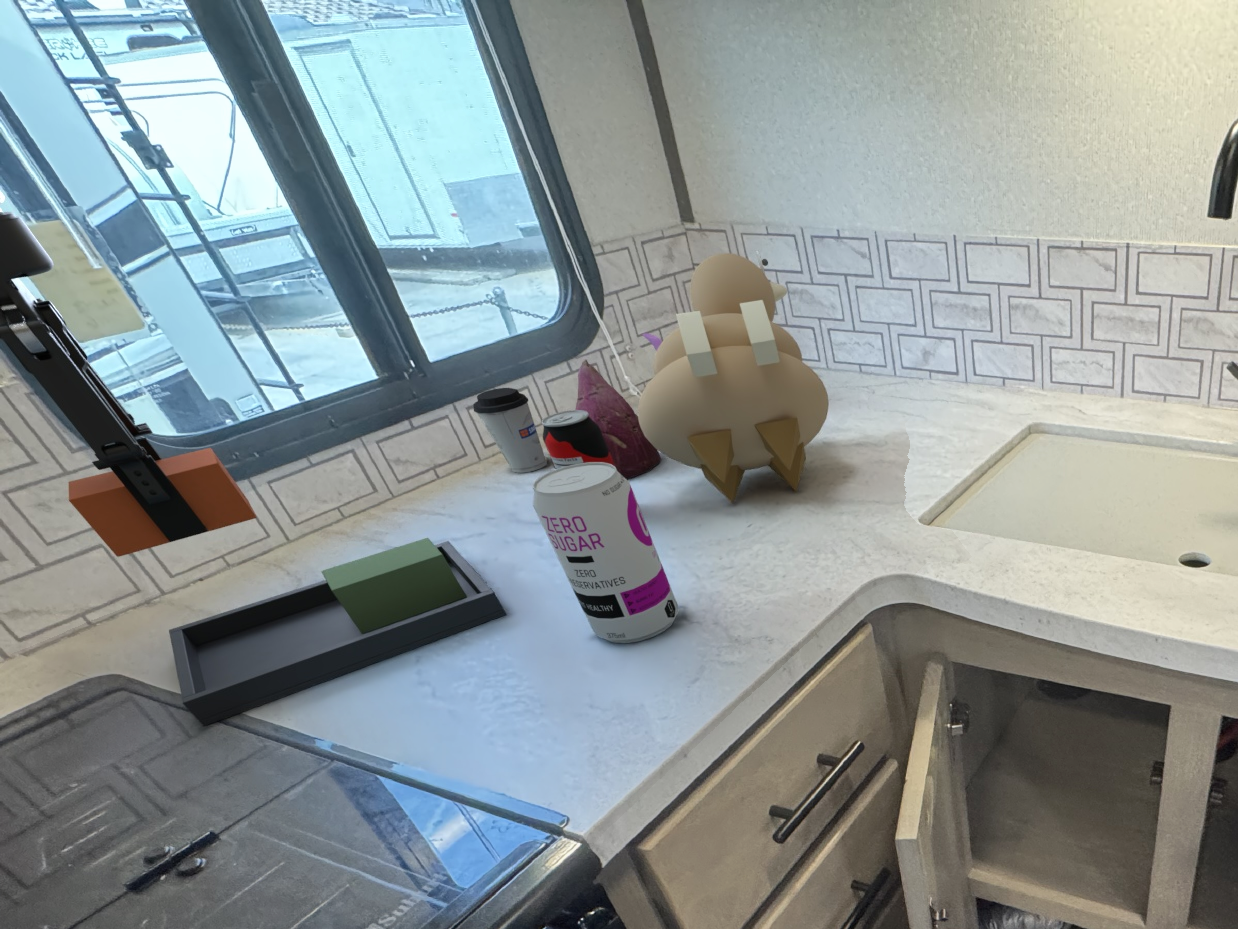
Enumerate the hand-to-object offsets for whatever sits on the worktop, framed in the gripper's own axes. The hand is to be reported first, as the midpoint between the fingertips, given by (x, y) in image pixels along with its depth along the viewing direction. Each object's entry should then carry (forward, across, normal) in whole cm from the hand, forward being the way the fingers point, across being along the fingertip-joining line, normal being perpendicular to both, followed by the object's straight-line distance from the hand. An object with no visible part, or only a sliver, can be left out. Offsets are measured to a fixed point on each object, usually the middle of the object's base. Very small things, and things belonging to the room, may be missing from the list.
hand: (185, 524), depth 74 cm
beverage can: (+14, +7, -36) cm, 39 cm away
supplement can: (+14, -23, -27) cm, 38 cm away
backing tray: (+14, 0, -6) cm, 15 cm away
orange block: (0, 0, 0) cm, 0 cm away
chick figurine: (+14, +1, -54) cm, 55 cm away
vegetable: (+14, +22, -44) cm, 51 cm away
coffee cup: (+14, +34, -35) cm, 51 cm away
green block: (+13, 0, -12) cm, 17 cm away
